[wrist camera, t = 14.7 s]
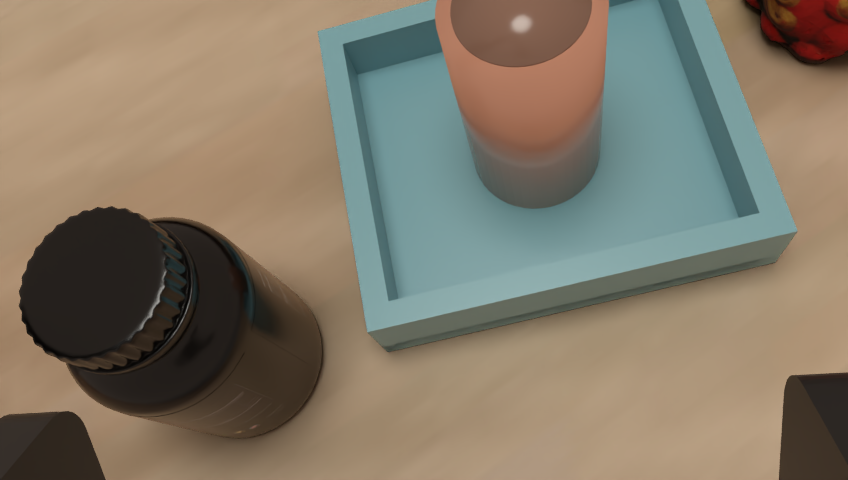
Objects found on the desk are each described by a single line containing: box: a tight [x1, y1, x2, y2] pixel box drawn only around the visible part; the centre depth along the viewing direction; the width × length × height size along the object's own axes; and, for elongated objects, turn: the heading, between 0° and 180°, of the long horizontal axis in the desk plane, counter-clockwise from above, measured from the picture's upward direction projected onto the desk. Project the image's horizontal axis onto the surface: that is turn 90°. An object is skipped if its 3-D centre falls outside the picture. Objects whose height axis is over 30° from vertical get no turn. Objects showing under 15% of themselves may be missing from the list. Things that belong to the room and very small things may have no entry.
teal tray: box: [318, 0, 797, 352], centre depth 33 cm, size 16×14×4 cm
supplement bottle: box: [19, 206, 322, 438], centre depth 29 cm, size 7×7×12 cm
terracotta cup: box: [435, 0, 609, 209], centre depth 29 cm, size 5×5×10 cm
